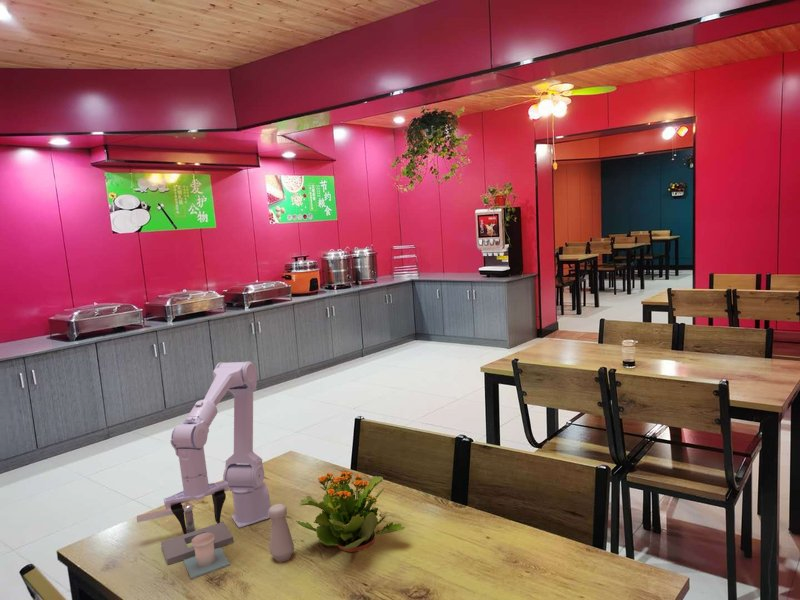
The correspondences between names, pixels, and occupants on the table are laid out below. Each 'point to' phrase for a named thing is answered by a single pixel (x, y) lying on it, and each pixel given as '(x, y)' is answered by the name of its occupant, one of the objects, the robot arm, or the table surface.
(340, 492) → the potted flower
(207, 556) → the plug
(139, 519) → the clip
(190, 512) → the clip post
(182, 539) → the socket block
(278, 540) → the salt shaker
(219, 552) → the mat
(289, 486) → the table surface
